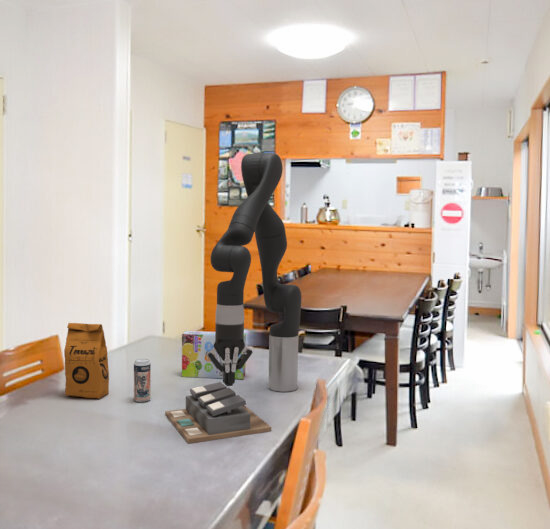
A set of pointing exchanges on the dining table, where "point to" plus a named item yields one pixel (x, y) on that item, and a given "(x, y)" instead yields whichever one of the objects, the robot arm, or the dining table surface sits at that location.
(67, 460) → the dining table surface
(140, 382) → the beer can
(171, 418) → the switch panel
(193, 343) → the snack box
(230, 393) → the block
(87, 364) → the coffee package
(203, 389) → the rocker
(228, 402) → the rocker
